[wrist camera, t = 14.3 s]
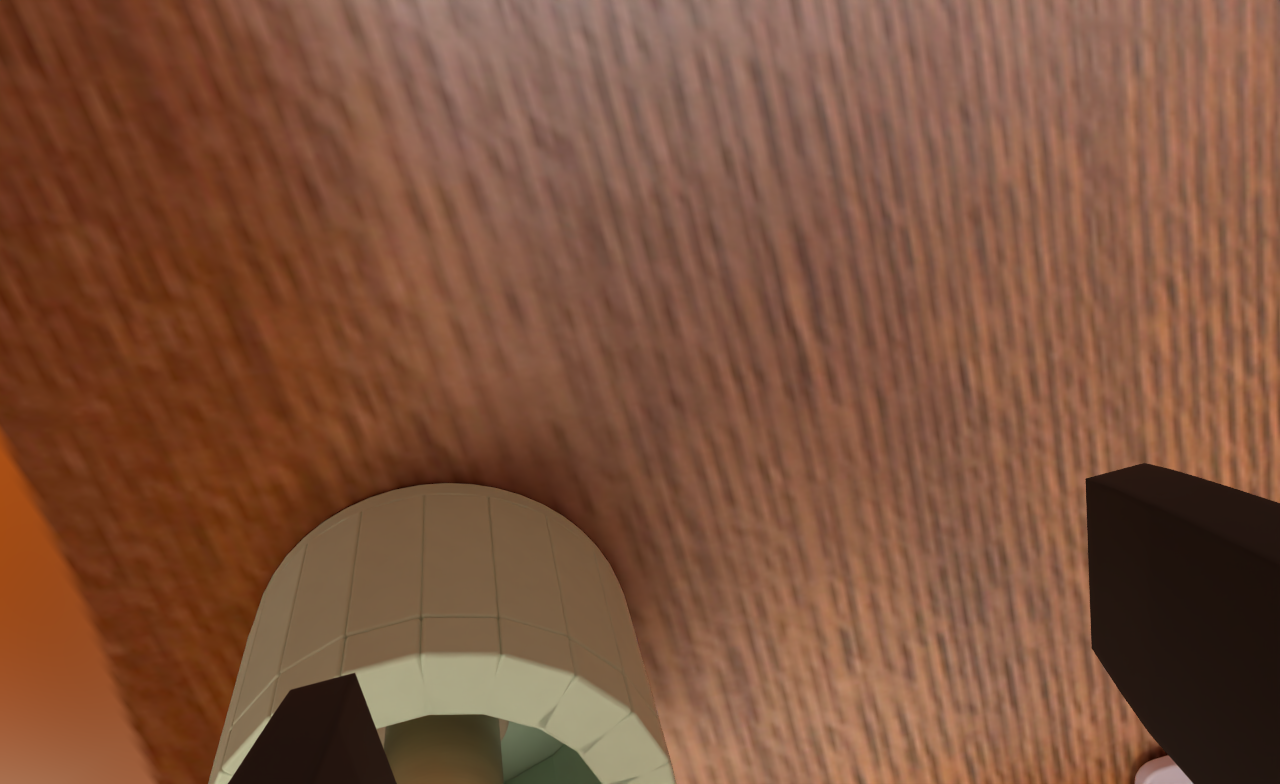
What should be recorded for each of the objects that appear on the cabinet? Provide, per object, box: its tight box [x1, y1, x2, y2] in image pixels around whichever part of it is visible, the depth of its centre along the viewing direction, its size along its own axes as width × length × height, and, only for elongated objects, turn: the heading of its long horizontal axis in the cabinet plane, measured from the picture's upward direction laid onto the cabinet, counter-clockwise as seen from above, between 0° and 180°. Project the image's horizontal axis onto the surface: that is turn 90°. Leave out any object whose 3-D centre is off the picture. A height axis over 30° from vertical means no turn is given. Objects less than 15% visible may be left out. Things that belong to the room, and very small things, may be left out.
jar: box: [208, 483, 676, 784], centre depth 20 cm, size 7×7×6 cm
